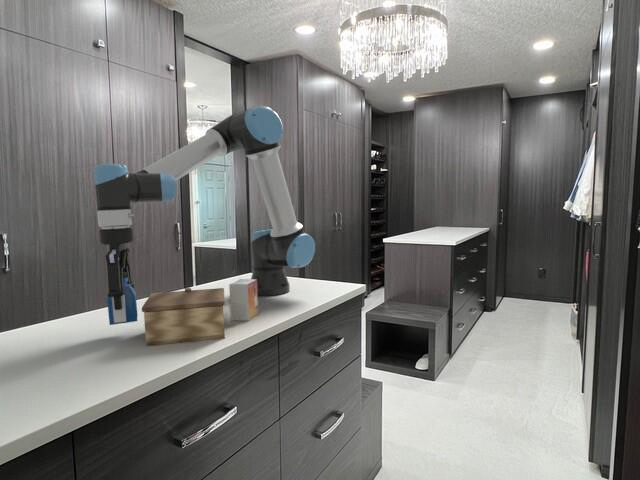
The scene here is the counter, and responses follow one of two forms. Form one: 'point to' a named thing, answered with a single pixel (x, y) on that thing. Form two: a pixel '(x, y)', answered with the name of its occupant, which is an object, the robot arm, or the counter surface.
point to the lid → (184, 299)
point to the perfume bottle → (129, 303)
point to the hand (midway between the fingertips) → (123, 317)
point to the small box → (243, 299)
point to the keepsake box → (184, 325)
